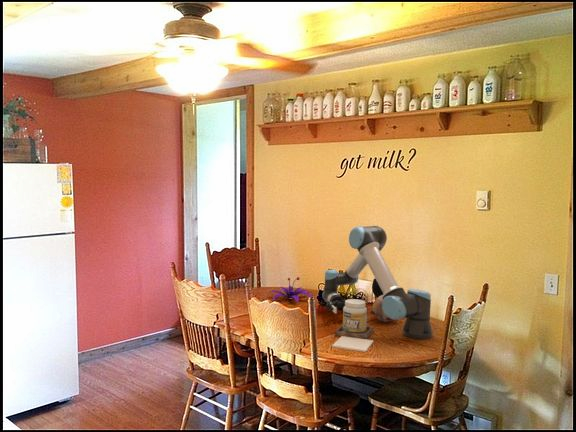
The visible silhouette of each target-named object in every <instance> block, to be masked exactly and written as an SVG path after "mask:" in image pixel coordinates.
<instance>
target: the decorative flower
mask: <svg viewBox="0 0 576 432" xmlns="http://www.w3.org/2000/svg"><path fill="white" fill-rule="evenodd" d="M287 281H289V283H288V287H283V286H279V288H280V290H270V292H268V294H270V293H277V294H274V296H273V297H272V301H273V300H276V299H277V298H279V297H283V296H284V297H285V298H287V299H289V298H293V300H295V302H297V303H298V302H299V299H300V297H299V295H307V296H308V297H310V298H311V297H313V296H312V295H311V294H310V292H309V291H308V290H307V289H302V288H303V287H302V286H300V287H297V288H296V289H294V286H293V285H294V283H295V282H296V281H300V277H299V276H297V277H296V279H295V280H294V281H293V282H292V285H291V278H290V277H288V278H287ZM268 294H267V295H268Z"/></svg>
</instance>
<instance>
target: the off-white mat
mask: <svg viewBox="0 0 576 432" xmlns="http://www.w3.org/2000/svg"><path fill="white" fill-rule="evenodd" d="M373 343H374V340H373V339H368V338H367V339H359V338H352V337H345V336H341V337H338V338H337V340H336V341H335V342H334V343H333V344H332V345H331V347H332V348H337V349H342V350H351V351H357V352H364V353H367V351H368V350H369V348H370V347H371V346H372V344H373Z"/></svg>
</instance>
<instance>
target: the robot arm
mask: <svg viewBox="0 0 576 432" xmlns="http://www.w3.org/2000/svg"><path fill="white" fill-rule="evenodd" d="M387 240H388V235H387V232H386V231H385V229H383V228H382V227H381V226H379V225H372V226H371V225H370V226H369V225H368V226H356V227H353V228H352V229H351V230H350V232H349V235H348V243H349V245H350V248H352V249H354V250H357V251H358V254H357V255H356V257H355V258H354V259H353V261H352V262H351V264H350V265H349V266H348V267H347V269H345V271H344V272H338V270H336V269H328V270H325V273H324V290H323V292H322V294H321V295H322V298H323V300H324V301H325V302H326V304H325V310H326V311H328V312H333V314H337V313H338V309H341V308H344V306H345V301H346V300H345V299H344V298H343V296H341V295H339V293H338V287H340V286H347V285H354V284H357V283H358V282H359V275H360V274H361V273H362V272H363V270H364V269H365V267H366V266H367V265H368V267H369V270H371V272H372V274H373V276H374V279H375V278H376V280H377V282H378V284H379V286H380V288H381V290H382V292H383V297H382V299H383V301H382V305H383V306H382V309H383V311H384V313H385V314H386V316H388V317H389V318H391V319H394V320H402V319H405V318H406V320H405V322H404V325H403V327H402V335H404V336H405V337H407V338H411V339H416V340H425V339H426V340H427V339H431V338H432V337H433V336H434V332H433V331H434V330H433V328H432V324H431V307H432V306H431V304H432V303H431V302H432V297H431V296H432V295H431V293H430V292H428V291H425V290H421V289H416V288H409V289H407V293H406V291H405V289H404V287H402V286H399V285H398V282H397V280H396V279H395V277H394V275H393V273H392V272H391V269H390V267H389V265H388V264H387V262H386V260H385V258H384V257H383V255H382V253H381V251H382V250H383V249H384V247H385V246H386V244H387Z"/></svg>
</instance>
